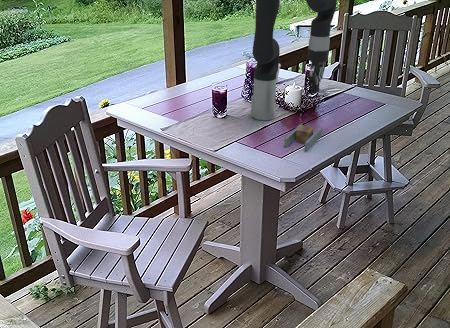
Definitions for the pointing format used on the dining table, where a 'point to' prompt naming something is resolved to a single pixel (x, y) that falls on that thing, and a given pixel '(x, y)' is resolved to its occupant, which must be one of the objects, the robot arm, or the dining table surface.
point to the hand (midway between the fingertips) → (314, 92)
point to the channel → (308, 143)
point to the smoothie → (277, 73)
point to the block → (303, 134)
